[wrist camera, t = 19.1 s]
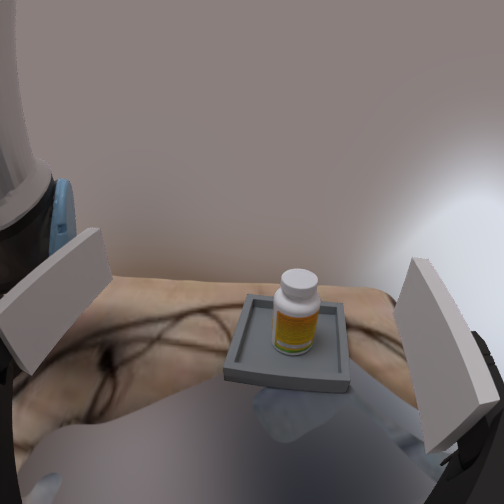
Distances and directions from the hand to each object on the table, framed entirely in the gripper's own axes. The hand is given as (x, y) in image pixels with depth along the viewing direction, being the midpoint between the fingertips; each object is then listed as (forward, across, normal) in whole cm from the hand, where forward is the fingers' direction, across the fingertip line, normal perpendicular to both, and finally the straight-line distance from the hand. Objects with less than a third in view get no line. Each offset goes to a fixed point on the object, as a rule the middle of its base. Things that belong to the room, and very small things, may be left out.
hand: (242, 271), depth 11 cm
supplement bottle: (+16, +3, -21) cm, 27 cm away
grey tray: (+16, +3, -22) cm, 27 cm away
